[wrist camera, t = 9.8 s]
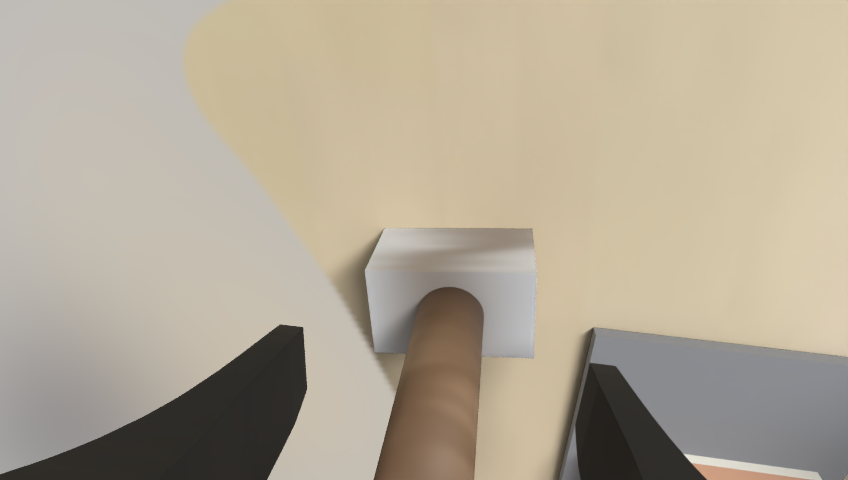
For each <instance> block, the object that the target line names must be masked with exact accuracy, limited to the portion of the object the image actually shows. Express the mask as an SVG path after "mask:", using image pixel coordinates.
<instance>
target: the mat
mask: <svg viewBox="0 0 848 480" xmlns="http://www.w3.org/2000/svg"><path fill="white" fill-rule="evenodd" d="M590 363H596V364H605V365H613V366H616V367H617V368H618V370H619V371H620V372H621V374H622V375H623V376H624V378H625V379H626V381H627V382H628V383H629V385H630V386H631V388H632V389H633V390H634V392H635V393H636V395H637V396H638V397H639V399H640V400H641V401H642V403H643V404H644V405H645V407H646V408H647V409H648V411H649V412H650V413H651V415H652V416H653V417H654V419H655V420H656V421H657V422H658V424H659V425H660V426H661V427H662V429H663V430H664V431H665V432H666V434H667V435H668V436H669V438H670V439H671V440H672V441H673V442H674V444H675V445H676V446H677V447H678V448H679V449H680V451H681V452H682V453H683V454H688V455H695V456H703V457H710V458H717V459H725V460H732V461H739V462H746V463H754V464H761V465H768V466H776V467H783V468H790V469H797V470H805V471H812V472H818V474H819V476H820V477H821V479H822V480H844V479H845V477H846V475H847V474H848V357H842V356H833V355H825V354H816V353H808V352H799V351H791V350H782V349H774V348H765V347H756V346H748V345H739V344H731V343H722V342H714V341H705V340H697V339H688V338H679V337H671V336H662V335H654V334H645V333H637V332H628V331H620V330H611V329H603V328H594V330H593V334H592V338H591V342H590V347H589V351H588V355H587V360H586V364H585V368H584V372H583V377H582V381H581V385H580V390H579V394H578V398H577V403H576V407H575V411H574V415H573V420H572V424H571V428H570V433H569V437H568V441H567V446H566V450H565V454H564V458H563V463H562V467H561V471H560V476H559V480H581V479H580V474H579V468H578V460H577V448H576V432H575V423H576V419H577V415H578V410H579V406H580V402H581V398H582V394H583V389H584V385H585V381H586V377H587V372H588V368H589V364H590Z"/></svg>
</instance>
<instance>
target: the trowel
mask: <svg viewBox="0 0 848 480" xmlns="http://www.w3.org/2000/svg"><path fill="white" fill-rule="evenodd" d="M365 277H366V286H367V294H368V302H369V310H370V318H371V326H372V335H373V343H374V351H375V352H377V353H404V354H406V357H405V361H404V365H403V369H402V373H401V377H400V380H399V384H398V388H397V392H396V396H395V400H394V404H393V407H392V411H391V416H390V419H389V423H388V427H387V431H386V434H385V438H384V442H383V446H382V450H381V454H380V457H379V461H378V465H377V469H376V473H375V477H374V480H474V470H475V454H476V437H477V421H478V405H479V389H480V373H481V357H482V356H483V357H509V358H534V337H535V311H536V284H537V269H536V260H535V250H534V241H533V231H532V229H515V228H385V229H384V231H383V233H382V235H381V237H380V239H379V241H378V244H377V246H376V248H375V250H374V252H373V254H372V256H371V258H370V260H369V263H368V265H367V267H366V269H365Z"/></svg>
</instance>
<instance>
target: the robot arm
mask: <svg viewBox="0 0 848 480" xmlns="http://www.w3.org/2000/svg"><path fill="white" fill-rule="evenodd" d="M305 367H306V365H305V350H304V335H303V327H296V326H288V325H279V326H278V327H276V328H275V329H274V330H272V331H271V332H269V334H267V335H266V336H264V337H263V338H262V339H260V340H259V341H258V342H257V343H255V344H254V345H253V346H251V347H250V348H249V349H247V350H246V351H245V352H243V353H242V354H241V355H240V356H238V357H237V358H235V359H234V360H232V361H231V362H230V363H228V364H227V365H226V366H224V367H223V368H222V369H220V370H219V371H217V372H216V373H214V374H213V375H211V376H210V377H209V378H207V379H205V380H204V381H202V382H201V383H199V384H198V385H196V386H195V387H193V388H192V389H190V390H189V391H187V392H186V393H184V394H182V395H181V396H179V397H178V398H176V399H174V400H173V401H171V402H169V403H167V404H166V405H164V406H162V407H160V408H158V409H157V410H155V411H153V412H151V413H149V414H148V415H146V416H144V417H142V418H140V419H138V420H136V421H134V422H131V423H129V424H127V425H125V426H123V427H122V428H119V429H117V430H115V431H113V432H111V433H109V434H107V435H104V436H102V437H100V438H98V439H95V440H93V441H91V442H88V443H86V444H84V445H81V446H79V447H76V448H74V449H71V450H69V451H66V452H63V453H61V454H58V455H56V456H53V457H50V458H48V459H45V460H42V461H39V462H36V463H33V464H31V465H28V466H24V467H21V468H18V469H15V470H12V471H9V472H6V473H3V474H0V480H267V479H268V477H269V475H270V473H271V470H272V469H273V467H274V465H275V463H276V461H277V459H278V457H279V455H280V453H281V451H282V449H283V447H284V445H285V443H286V441H287V439H288V437H289V435H290V433H291V431H292V429H293V427H294V425H295V422H296V419H297V416H298V413H299V411H300V408H301V405H302V402H303V399H304V396H305V394H306V390H307V381H306V368H305ZM575 432H576V448H577V460H578V468H579V474H580V479H581V480H707V479H706V478H705V477H704V476H703V475H702V474H701V473H700V472H699V471H698V470H697V469H696V467H695V466H694V465H693V464H692V463H691V462H690V461H689V460H688V459H687V457H686V456H685V455H684V454H683V453H682V452H681V451H680V449H679V448H678V447H677V446H676V445H675V444H674V442H673V441H672V440H671V439H670V438H669V436H668V435H667V434H666V432H665V431H664V430H663V429H662V427H661V426H660V425H659V424H658V422H657V421H656V420H655V419H654V417H653V416H652V415H651V413H650V412H649V411H648V409H647V408H646V407H645V405H644V404H643V403H642V401H641V400H640V399H639V397H638V396H637V395H636V393H635V392H634V390H633V389H632V388H631V386H630V385H629V383H628V382H627V381H626V379H625V378H624V376H623V375H622V374H621V372H620V371H619V370H618V368H617V367H616V366H613V365H605V364H596V363H590V364H589V368H588V372H587V377H586V381H585V385H584V389H583V394H582V398H581V402H580V406H579V410H578V415H577V419H576V423H575Z"/></svg>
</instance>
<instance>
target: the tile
mask: <svg viewBox="0 0 848 480" xmlns="http://www.w3.org/2000/svg"><path fill="white" fill-rule="evenodd" d="M684 455H685V456H686V457H687V459H688V460H689V461H690V462H691V463H692V464H693V465H694V466H695V467H696V469H697V470H698V471H699V472H700V473H701V474H702V475H703V476H704V477H705V478H706V479H707V480H822V479H821V477H820V476H819V474H818V472H812V471H805V470H797V469H790V468H783V467H776V466H768V465H761V464H754V463H746V462H739V461H732V460H725V459H717V458H710V457H703V456H695V455H688V454H684Z"/></svg>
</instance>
